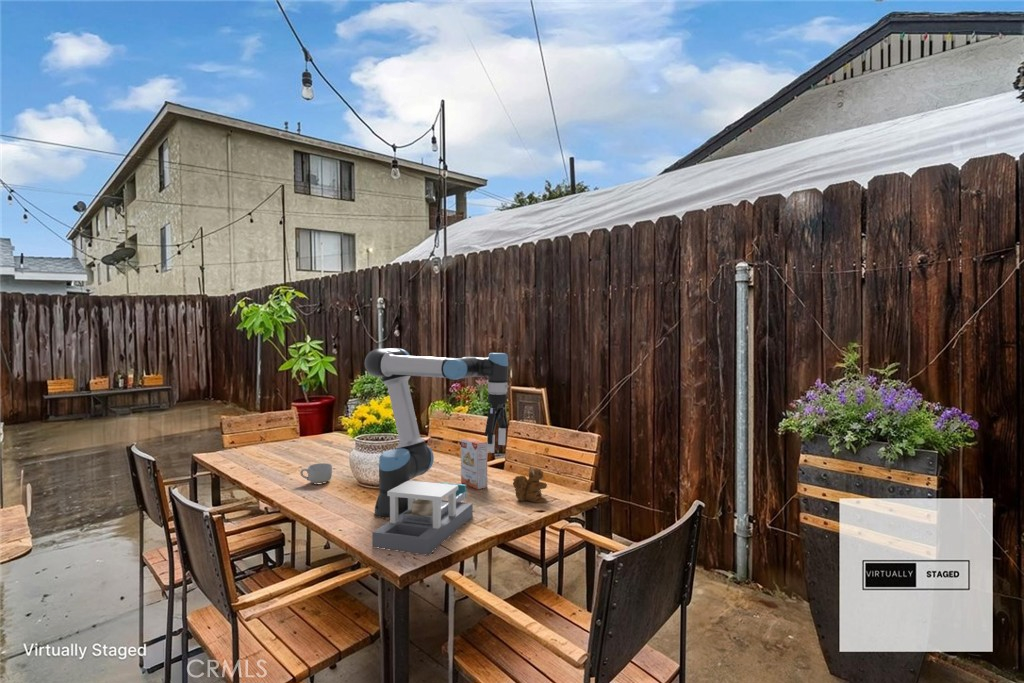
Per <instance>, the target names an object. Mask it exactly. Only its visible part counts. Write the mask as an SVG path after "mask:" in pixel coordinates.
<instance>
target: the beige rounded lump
mask: <svg viewBox="0 0 1024 683" xmlns="http://www.w3.org/2000/svg"><path fill="white" fill-rule="evenodd" d="M412 514H415V515H423V516H430V515H432V514H433V501H431V500H421V499H416V501H414V502H413V503H412Z"/></svg>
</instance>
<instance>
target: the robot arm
mask: <svg viewBox="0 0 1024 683" xmlns="http://www.w3.org/2000/svg"><path fill="white" fill-rule="evenodd" d="M364 368H365V370H366V372H367V373H368V374H369V375H370V376H372V377H375V378H381V380H382V384H384V385H385V386H386V387H387V390H388V394H389V399H390V404H391V408H392V414H393V415H394V419H395V423H396V428H397V433H398V440H399V443H398V446H397V448H393V449H387V450H386V451H384V452H382V453H381V454H380V455H379V460H378V461H379V462H378V479H379V480H378V483H379V484H378V488H379V491H378V496H377V500H376V501H375V502H376V503H375V506H374V515H375V514H376V515H377V517H378V516H380V517H379V518H382V517H384V518H383V519H390V496H387V491H389V490H391V489H393V488H395V487H397V486H399V485H401V484H402V483H404V482H406V481H411V480H412V479H414V478H416V477H419V476H422V475H424V474H425V473H427V472H428V471H429V470H430V469H431V468H432V466H433V465H434V453H433V450H432V449H431V447H429V446H428V445H426V440H425V439H424V438H422V437H421V435H420V434H421V433H420V430H419V425H418V422H417V417H416V414H415V413H416V412H415V409H414V408H415V407H414V403H413V399H412V394H411V390H410V386H409V380H410V378H411V376H413V377H429V378H442V379H443V378H444V379H449V380H456V381H457V380H460V379H467V378H473V377H479V378H487V392H488V393H487V403H488V404H489V405H491V407H488V410H487V411H488V413H487V419H486V425H485V430H484V435H485V436H486V442H487V453H491V454H492V453H493V454H494V453H495V444H496V443H495V441H496V440H495V439H496V438H495V437H496V435H495V430H496V427H497V422H498V425H499V426H498V427H499V428H498V440H497V442H498V445H500V446H506V435H507V434H506V433H507V432H506V430H507V429H508V428H509V425H508V417H507V416H508V415H507V410H506V409H507V408H506V404H507V403H508V394H507V393H508V388H509V387H510V386H509V385H508V380H509V379H508V375H509V372H508V371H509V358H508V354H507V353H505V352H490V353H489V354H488V357H477V356H463V357H459V358H458V357H457V358H456V357H438V356H419V355H417V356H416V355H410V353H409V352H408V351H407V350H405V349H403V348H397V347H393V348H391V347H390V348H375V349H372V350H371V351H370V352H368V353H367V355H366V356H365V359H364ZM406 510H408V498H402V497H398V515H400V514H402V513H403V512H405V511H406ZM376 515H375V516H376Z"/></svg>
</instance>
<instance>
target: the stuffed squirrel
mask: <svg viewBox="0 0 1024 683" xmlns="http://www.w3.org/2000/svg"><path fill="white" fill-rule="evenodd" d="M528 469H529V470H528V471H529V472H528V478H527V476H525V475H517V476H515V477H514V478H513V479H512V480H513V482H512V485H513V487H514V491H515V497H516V498H517V500H518V501H520V502H527V500H528V502H530V501H531V502H530V503H534V502H538V503H537V504H545V503H544V502H546V503H547V498H546V497H542V496H543V495H542V490H544V489H546V488H547V487H548V485H547V483H546V482H543V481H540V480H542V479H543V480H544V479H545V477H544V471H542V469H540V468H538V467H529V468H528ZM524 500H526V501H524Z"/></svg>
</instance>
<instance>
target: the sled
mask: <svg viewBox="0 0 1024 683" xmlns="http://www.w3.org/2000/svg"><path fill="white" fill-rule="evenodd" d="M439 483H440V484H451V485H458V490H457V491H456V505H457V504H458V503H460V502H462V501H464V500H465V499H466V498H467V485H465V484H463V483H450V482H439ZM447 512H448V503H447V504H446V505H444V506H443V507H441V516H443V515H444V514H445V513H447ZM402 521H404V522H412V523H420V524H428V525H431V524H432V523H433V514H432V515H430V516H423V515H415V514H412V508H411V509H409V510H408V511H406V512H405V513H403V514H402Z"/></svg>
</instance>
